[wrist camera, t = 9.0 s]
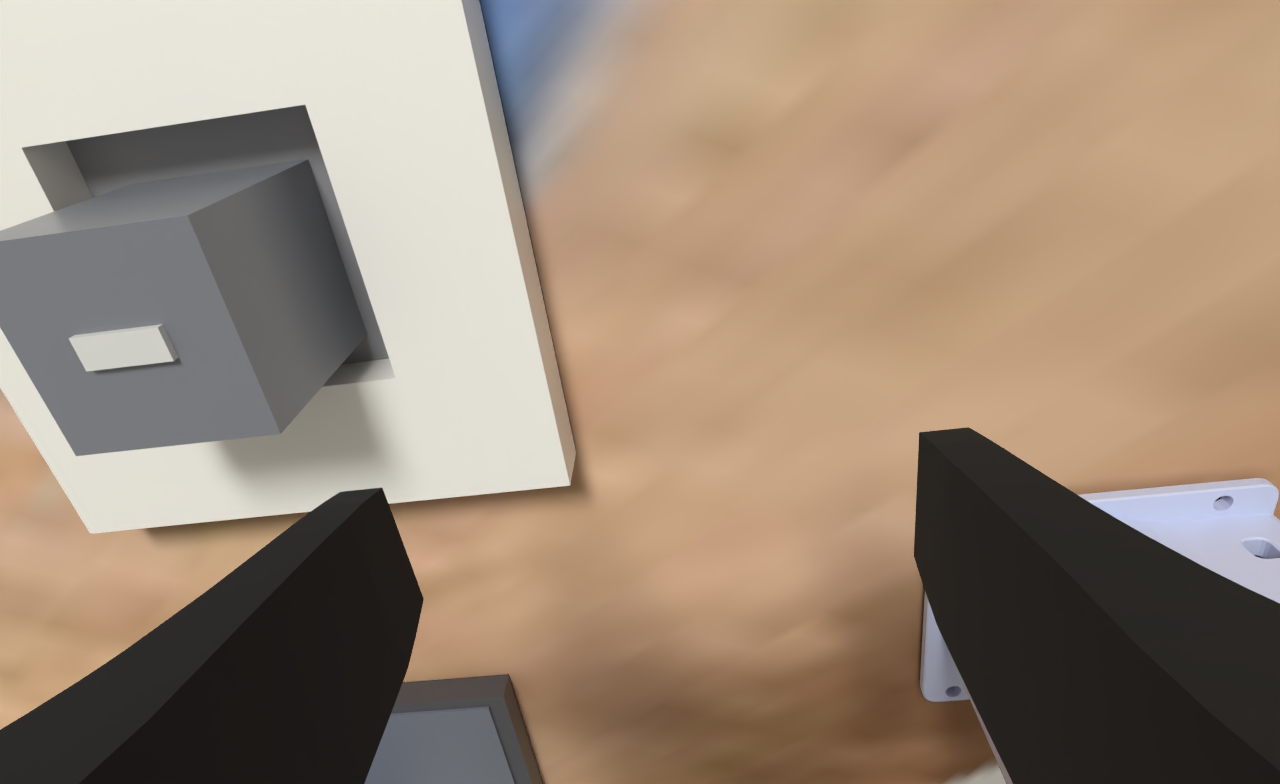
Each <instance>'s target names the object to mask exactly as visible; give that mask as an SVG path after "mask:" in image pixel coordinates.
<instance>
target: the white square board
mask: <svg viewBox="0 0 1280 784" xmlns="http://www.w3.org/2000/svg"><path fill="white" fill-rule="evenodd" d="M307 159H308V160H309V163H310V166H311V169H312V172H313V175H314V178H315V181H316V184H317V187H318V190H319V193H320V196H321V198H322V201H323V204H324V207H325V210H326V213H327V216H328V219H329V222H330V225H331V228H332V231H333V234H334V237H335V240H336V243H337V246H338V249H339V252H340V255H341V258H342V261H343V264H344V267H345V269H346V272H347V275H348V278H349V281H350V284H351V287H352V290H353V293H354V296H355V299H356V302H357V305H358V308H359V311H360V314H361V317H362V320H363V323H364V326H365V329H366V332H367V335H366V337H365V338H364V339H363V340H362V341H361V342H360V343H359V345H358V346H357V347H356V348H355V349H354V350H353V352H352V353H351V354H350V355H349V356H348V357H347V358H346V360H345V361H344V362H343V363H342V364H341V365H340V367H339V368H338V369H337V370H336V371H335V372H334V373H333V375H332V376H331V377H330V378H329V379H328V380H327V382H326V383H325V384H324V385H323V386H322V387H321V388H320V390H319V391H318V392H317V393H316V394H315V395H314V396H313V398H312V399H311V400H310V401H309V402H308V403H307V405H306V406H305V407H304V408H303V409H302V410H301V411H300V413H299V414H298V415H297V416H296V417H295V418H294V420H293V421H292V422H291V423H290V424H289V425H288V426H287V428H286V429H285V430H284V431H283V432H282V433H281V434H277V435H268V436H258V437H249V438H240V439H231V440H221V441H212V442H203V443H194V444H184V445H175V446H166V447H157V448H147V449H138V450H129V451H120V452H110V453H101V454H92V455H83V456H76V455H75V454H74V452H73V450H72V448H71V447H70V445H69V443H68V442H67V440H66V438H65V437H64V435H63V433H62V432H61V430H60V428H59V426H58V425H57V423H56V421H55V420H54V418H53V416H52V415H51V413H50V411H49V409H48V408H47V406H46V404H45V403H44V401H43V399H42V398H41V396H40V394H39V392H38V391H37V389H36V387H35V386H34V384H33V382H32V381H31V379H30V377H29V376H28V374H27V372H26V370H25V369H24V367H23V365H22V364H21V362H20V360H19V359H18V357H17V355H16V353H15V352H14V350H13V348H12V347H11V345H10V343H9V342H8V340H7V338H6V336H5V335H4V333H3V331H2V330H1V328H0V388H1V390H2V391H3V393H4V395H5V396H6V398H7V399H8V401H9V403H10V404H11V406H12V407H13V409H14V411H15V412H16V414H17V416H18V417H19V419H20V420H21V422H22V424H23V425H24V427H25V429H26V430H27V432H28V433H29V435H30V437H31V438H32V440H33V441H34V443H35V445H36V446H37V448H38V450H39V451H40V453H41V454H42V456H43V458H44V459H45V461H46V463H47V464H48V466H49V467H50V469H51V471H52V472H53V474H54V475H55V477H56V479H57V480H58V482H59V484H60V485H61V487H62V488H63V490H64V492H65V493H66V495H67V497H68V498H69V500H70V501H71V503H72V505H73V506H74V508H75V509H76V511H77V513H78V514H79V516H80V518H81V519H82V521H83V522H84V524H85V526H86V527H87V529H88V531H89V532H90V534H92V533H102V532H112V531H122V530H132V529H142V528H152V527H162V526H172V525H182V524H192V523H202V522H212V521H222V520H232V519H242V518H252V517H262V516H272V515H282V514H292V513H302V512H311V511H312V510H314V509H315V508H316V507H318V506H319V505H321V504H322V503H324V502H325V501H327V500H328V499H330V498H331V497H333V496H334V495H336V494H338V493H339V492H343V491H353V490H363V489H372V488H383V491H384V493H385V496H386V499H387V501H388V504H391V503H401V502H411V501H421V500H431V499H441V498H451V497H461V496H471V495H481V494H491V493H501V492H511V491H521V490H531V489H541V488H551V487H561V486H570V484H571V478H572V473H573V468H574V462H575V457H576V450H575V445H574V441H573V436H572V431H571V427H570V422H569V417H568V413H567V408H566V403H565V399H564V394H563V389H562V384H561V380H560V375H559V370H558V366H557V361H556V356H555V352H554V347H553V342H552V338H551V333H550V328H549V324H548V319H547V314H546V310H545V305H544V300H543V296H542V291H541V286H540V282H539V277H538V272H537V268H536V263H535V258H534V254H533V249H532V244H531V240H530V235H529V230H528V226H527V221H526V216H525V212H524V207H523V202H522V198H521V193H520V188H519V184H518V179H517V174H516V170H515V165H514V160H513V155H512V151H511V146H510V141H509V137H508V132H507V127H506V123H505V118H504V113H503V109H502V104H501V99H500V95H499V90H498V85H497V81H496V76H495V71H494V67H493V62H492V57H491V53H490V48H489V43H488V39H487V34H486V29H485V25H484V20H483V15H482V11H481V6H480V1H479V0H0V231H1V230H4V229H7V228H9V227H12V226H15V225H18V224H21V223H23V222H26V221H29V220H32V219H35V218H37V217H40V216H43V215H46V214H49V213H51V212H54V211H57V210H60V209H63V208H65V207H68V206H71V205H74V204H77V203H80V202H82V201H85V200H88V199H91V198H94V197H96V196H99V195H102V194H105V193H108V192H110V191H113V190H116V189H119V188H122V187H124V186H127V185H131V184H138V183H145V182H152V181H159V180H166V179H173V178H180V177H187V176H194V175H201V174H208V173H215V172H222V171H229V170H236V169H243V168H250V167H257V166H265V165H272V164H279V163H286V162H293V161H300V160H307Z"/></svg>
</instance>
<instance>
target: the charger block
mask: <svg viewBox="0 0 1280 784" xmlns="http://www.w3.org/2000/svg"><path fill="white" fill-rule="evenodd" d="M0 328H1V330H2V331H3V333H4V335H5V336H6V338H7V340H8V342H9V343H10V345H11V347H12V348H13V350H14V352H15V353H16V355H17V357H18V359H19V360H20V362H21V364H22V365H23V367H24V369H25V370H26V372H27V374H28V376H29V377H30V379H31V381H32V382H33V384H34V386H35V387H36V389H37V391H38V392H39V394H40V396H41V398H42V399H43V401H44V403H45V404H46V406H47V408H48V409H49V411H50V413H51V415H52V416H53V418H54V420H55V421H56V423H57V425H58V426H59V428H60V430H61V432H62V433H63V435H64V437H65V438H66V440H67V442H68V443H69V445H70V447H71V448H72V450H73V452H74V454H75V455H76V456H83V455H92V454H101V453H110V452H120V451H129V450H138V449H147V448H157V447H166V446H175V445H184V444H194V443H203V442H212V441H221V440H231V439H240V438H249V437H258V436H268V435H277V434H281V433H282V432H283V431H284V430H285V429H286V428H287V426H288V425H289V424H290V423H291V422H292V421H293V420H294V418H295V417H296V416H297V415H298V414H299V413H300V411H301V410H302V409H303V408H304V407H305V406H306V405H307V403H308V402H309V401H310V400H311V399H312V398H313V396H314V395H315V394H316V393H317V392H318V391H319V390H320V388H321V387H322V386H323V385H324V384H325V383H326V382H327V380H328V379H329V378H330V377H331V376H332V375H333V373H334V372H335V371H336V370H337V369H338V368H339V367H340V365H341V364H342V363H343V362H344V361H345V360H346V358H347V357H348V356H349V355H350V354H351V353H352V352H353V350H354V349H355V348H356V347H357V346H358V345H359V343H360V342H361V341H362V340H363V339H364V338H365V337H366V335H367V332H366V329H365V326H364V323H363V320H362V317H361V314H360V311H359V308H358V305H357V302H356V299H355V296H354V293H353V290H352V287H351V284H350V281H349V278H348V275H347V272H346V269H345V267H344V264H343V261H342V258H341V255H340V252H339V249H338V246H337V243H336V240H335V237H334V234H333V231H332V228H331V225H330V222H329V219H328V216H327V213H326V210H325V207H324V204H323V201H322V198H321V196H320V193H319V190H318V187H317V184H316V181H315V178H314V175H313V172H312V169H311V166H310V163H309V160H308V159H307V160H300V161H293V162H286V163H279V164H272V165H265V166H257V167H250V168H243V169H236V170H229V171H222V172H215V173H208V174H201V175H194V176H187V177H180V178H173V179H166V180H159V181H152V182H145V183H138V184H131V185H127V186H124V187H122V188H119V189H116V190H113V191H110V192H108V193H105V194H102V195H99V196H96V197H94V198H91V199H88V200H85V201H82V202H80V203H77V204H74V205H71V206H68V207H65V208H63V209H60V210H57V211H54V212H51V213H49V214H46V215H43V216H40V217H37V218H35V219H32V220H29V221H26V222H23V223H21V224H18V225H15V226H12V227H9V228H7V229H4V230H1V231H0Z"/></svg>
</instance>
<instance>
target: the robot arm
mask: <svg viewBox="0 0 1280 784" xmlns="http://www.w3.org/2000/svg"><path fill="white" fill-rule="evenodd" d="M1219 497H1222V498H1221V499H1219V500H1218V501H1215V500H1217V499H1218V498H1219ZM1278 498H1279V491H1278V489H1277V487H1276V486H1274V485H1273V484H1272V483H1271V482H1269V481H1268V480H1266V479H1264V478H1252V479H1241V480H1230V481H1220V482H1209V483H1198V484H1187V485H1177V486H1166V487H1155V488H1145V489H1134V490H1123V491H1112V492H1102V493H1091V494H1080V495H1077V494H1075V493H1073V492H1072V491H1070V490H1069V489H1067V488H1065V487H1064V486H1062V485H1061V484H1059V483H1057V482H1056V481H1054V480H1052V479H1051V478H1049V477H1048V476H1046V475H1045V474H1043V473H1041V472H1040V471H1038V470H1037V469H1035V468H1034V467H1032V466H1030V465H1029V464H1027V463H1026V462H1024V461H1022V460H1021V459H1019V458H1018V457H1016V456H1015V455H1013V454H1011V453H1010V452H1008V451H1007V450H1005V449H1004V448H1002V447H1000V446H999V445H997V444H996V443H994V442H992V441H991V440H989V439H987V438H986V437H984V436H982V435H981V434H979V433H977V432H976V431H974V430H972V429H970V428H959V429H949V430H939V431H930V432H920V433H919V454H918V476H917V499H916V522H915V544H914V557H915V561H916V564H917V567H918V570H919V573H920V576H921V579H922V583H923V586H924V589H925V598H924V616H923V635H922V653H921V671H920V688H921V691H922V694H923V696H924V697H925V698H926V699H927V700H929V701H932V702H943V701H957V700H970V701H971V703H972V706H973V708H974V710H975V713H976V715H977V717H978V719H979V722H980V724H981V726H982V729H983V731H984V733H985V735H986V738H987V740H988V742H989V745H990V747H991V749H992V752H993V754H994V756H995V758H996V761H997V763H998V765H999V768H1000V770H1001V772H1002V774H1003V777H1004V779H1005V781H1006V784H1280V520H1279V519H1278V518H1276V517H1275V516H1274V515H1273V513H1274V510H1275V507H1276V504H1277V501H1278ZM422 604H423V596H422V593H421V591H420V588H419V585H418V583H417V580H416V577H415V575H414V572H413V569H412V566H411V564H410V561H409V558H408V556H407V553H406V550H405V547H404V545H403V542H402V539H401V537H400V534H399V531H398V529H397V526H396V523H395V520H394V518H393V515H392V512H391V510H390V507H389V504H388V501H387V499H386V496H385V493H384V491H383V488H372V489H363V490H353V491H343V492H339V493H338V494H336V495H334V496H333V497H331V498H330V499H328V500H327V501H325V502H324V503H322V504H321V505H319V506H318V507H316V508H315V509H314V510H312V511H311V512H310V513H308V514H307V515H306V516H304V517H303V518H301V519H300V520H299V521H297V522H296V523H295V524H294V525H292V526H291V527H290V528H288V529H287V530H286V531H284V532H283V533H282V534H280V535H279V536H278V537H277V538H275V539H274V540H273V541H271V542H270V543H269V544H268V545H266V546H265V547H264V548H262V549H261V550H260V551H258V552H257V553H256V554H255V555H253V556H252V557H251V558H249V559H248V560H247V561H246V562H244V563H243V564H242V565H240V566H239V567H238V568H236V569H235V570H234V571H233V572H231V573H230V574H229V575H227V576H226V577H225V578H223V579H222V580H221V581H220V582H218V583H217V584H216V585H214V586H213V587H212V588H210V589H209V590H208V591H206V592H205V593H204V594H202V595H201V596H200V597H198V598H197V599H195V600H194V601H193V602H191V603H190V604H189V605H187V606H186V607H184V608H183V609H182V610H180V611H179V612H178V613H176V614H175V615H173V616H172V617H171V618H169V619H168V620H166V621H165V622H164V623H162V624H161V625H160V626H158V627H157V628H155V629H154V630H153V631H151V632H150V633H148V634H147V635H146V636H144V637H143V638H142V639H140V640H139V641H137V642H136V643H135V644H133V645H132V646H130V647H129V648H128V649H126V650H125V651H123V652H122V653H120V654H119V655H117V656H116V657H115V658H113V659H112V660H110V661H109V662H107V663H106V664H104V665H103V666H101V667H100V668H98V669H97V670H95V671H94V672H92V673H91V674H89V675H88V676H86V677H85V678H83V679H82V680H80V681H78V682H77V683H75V684H74V685H72V686H71V687H69V688H67V689H66V690H64V691H63V692H61V693H59V694H58V695H56V696H55V697H53V698H51V699H50V700H48V701H47V702H45V703H43V704H42V705H40V706H39V707H37V708H36V709H34V710H32V711H31V712H29V713H28V714H26V715H24V716H23V717H21V718H19V719H18V720H16V721H14V722H13V723H11V724H9V725H8V726H6V727H4V728H3V729H1V730H0V784H364V783H365V781H366V778H367V775H368V773H369V770H370V767H371V765H372V762H373V760H374V757H375V754H376V752H377V749H378V747H379V744H380V741H381V739H382V736H383V733H384V731H385V728H386V726H387V723H388V720H389V718H390V715H391V712H392V710H393V707H394V704H395V702H396V699H397V696H398V693H399V691H400V688H401V685H402V683H403V680H404V677H405V674H406V671H407V669H408V665H409V661H410V657H411V653H412V649H413V645H414V641H415V637H416V632H417V628H418V623H419V618H420V613H421V609H422Z"/></svg>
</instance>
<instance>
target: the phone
mask: <svg viewBox="0 0 1280 784" xmlns="http://www.w3.org/2000/svg"><path fill="white" fill-rule="evenodd" d="M364 784H543V782H542V779H541V776H540V772H539V769H538V766H537V763H536V760H535V757H534V754H533V750H532V747H531V744H530V741H529V738H528V735H527V732H526V728H525V725H524V722H523V719H522V716H521V713H520V710H519V706H518V703H517V700H516V697H515V694H514V691H513V688H512V684H511V681H510V678H509V675H497V676H484V677H471V678H458V679H446V680H433V681H420V682H407V683H402V685H401V688H400V691H399V693H398V696H397V699H396V702H395V704H394V707H393V710H392V712H391V715H390V718H389V720H388V723H387V726H386V728H385V731H384V733H383V736H382V739H381V741H380V744H379V747H378V749H377V752H376V754H375V757H374V760H373V762H372V765H371V767H370V770H369V773H368V775H367V778H366V781H365V783H364Z"/></svg>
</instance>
